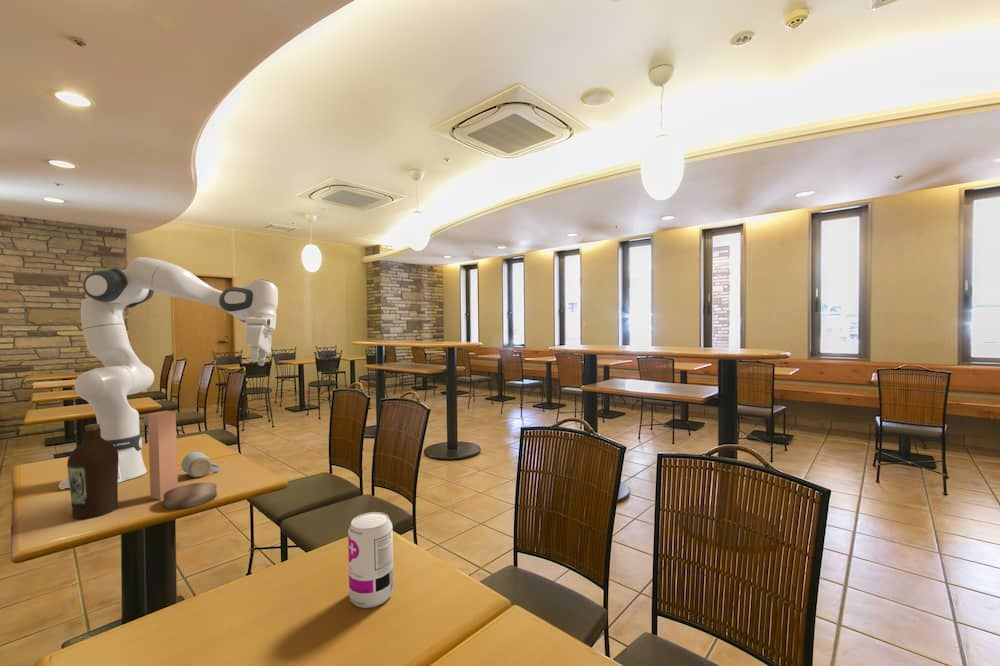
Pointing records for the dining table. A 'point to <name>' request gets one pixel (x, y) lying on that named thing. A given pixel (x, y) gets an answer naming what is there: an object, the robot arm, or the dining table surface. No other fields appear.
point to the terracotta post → (162, 453)
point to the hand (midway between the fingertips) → (257, 363)
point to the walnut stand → (190, 495)
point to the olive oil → (93, 475)
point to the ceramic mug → (198, 464)
